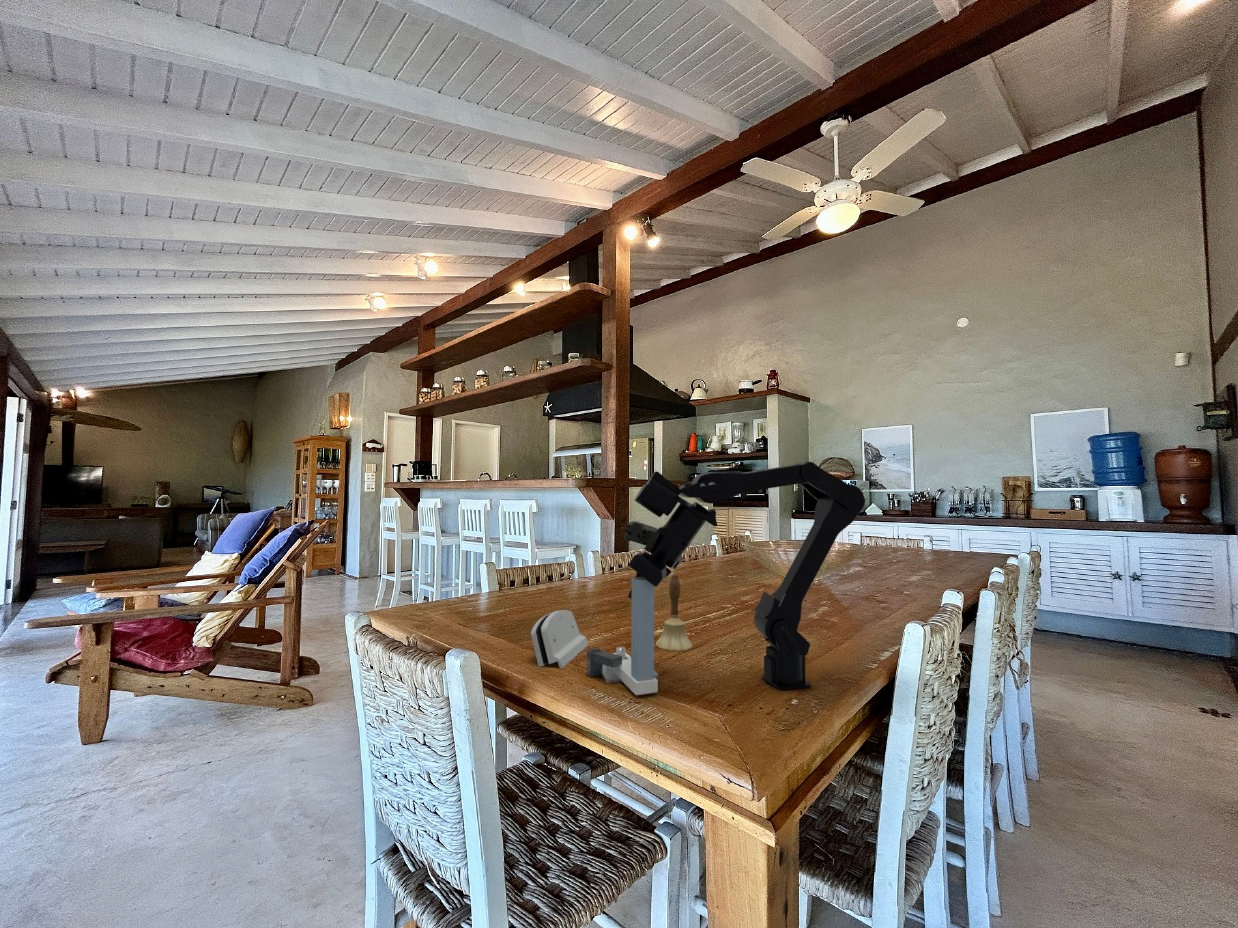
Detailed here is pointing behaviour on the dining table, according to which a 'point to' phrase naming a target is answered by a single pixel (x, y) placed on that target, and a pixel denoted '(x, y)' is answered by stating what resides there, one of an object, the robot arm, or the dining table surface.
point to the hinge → (557, 638)
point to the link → (640, 641)
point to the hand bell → (674, 623)
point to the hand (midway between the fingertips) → (633, 595)
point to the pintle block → (606, 663)
